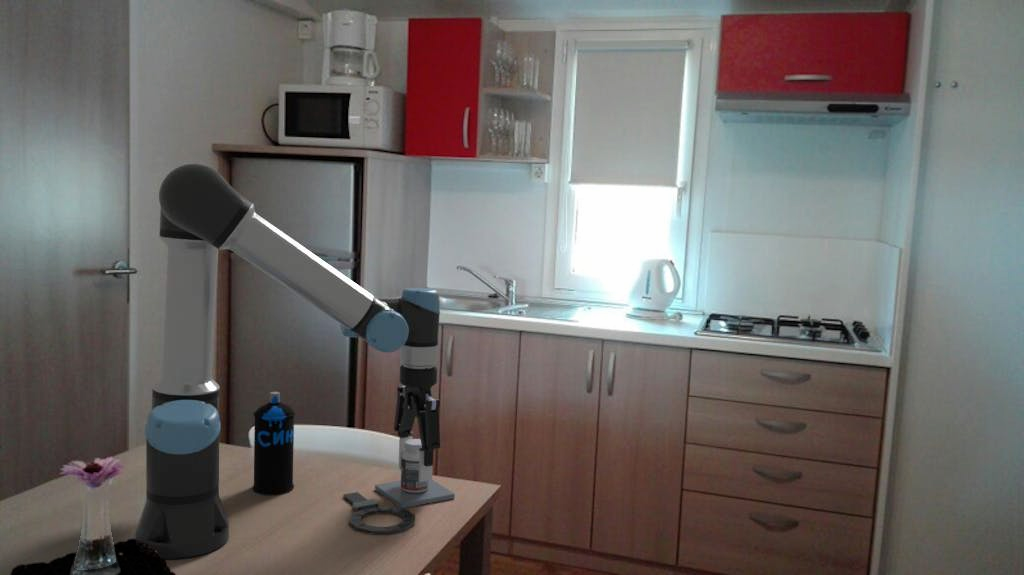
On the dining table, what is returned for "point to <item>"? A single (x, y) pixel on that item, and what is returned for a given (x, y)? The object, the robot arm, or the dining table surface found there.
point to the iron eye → (372, 507)
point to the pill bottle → (412, 468)
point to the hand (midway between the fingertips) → (415, 473)
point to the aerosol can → (273, 447)
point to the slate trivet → (414, 494)
